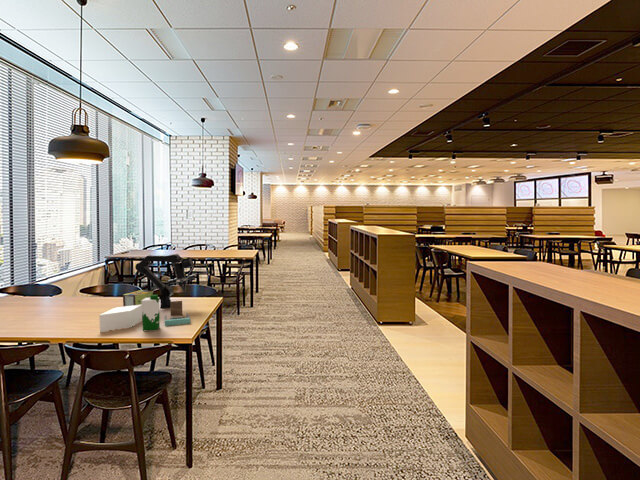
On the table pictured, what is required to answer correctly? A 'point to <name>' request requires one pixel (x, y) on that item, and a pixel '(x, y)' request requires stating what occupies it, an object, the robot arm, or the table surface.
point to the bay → (177, 321)
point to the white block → (120, 317)
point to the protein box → (135, 297)
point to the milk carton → (150, 313)
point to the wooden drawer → (176, 310)
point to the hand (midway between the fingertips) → (184, 291)
